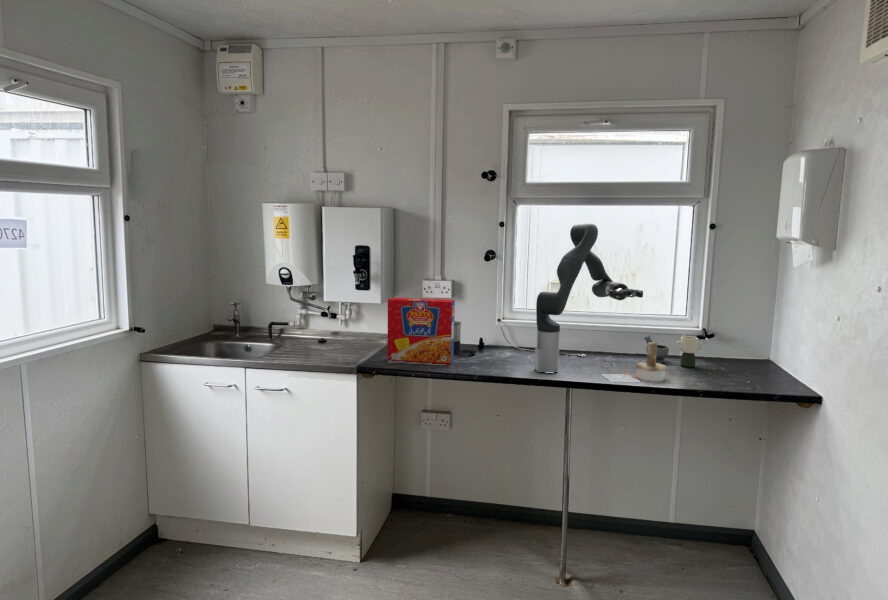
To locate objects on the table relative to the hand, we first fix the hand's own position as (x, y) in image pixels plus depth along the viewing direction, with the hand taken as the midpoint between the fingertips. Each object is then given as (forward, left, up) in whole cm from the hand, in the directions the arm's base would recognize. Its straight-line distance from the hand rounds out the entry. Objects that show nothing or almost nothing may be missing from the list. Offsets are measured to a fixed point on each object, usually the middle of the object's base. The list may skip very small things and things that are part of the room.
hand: (631, 295), depth 237 cm
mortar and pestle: (+19, +14, -32) cm, 40 cm away
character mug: (+29, +4, -32) cm, 44 cm away
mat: (-10, -15, -32) cm, 36 cm away
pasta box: (-88, +15, -32) cm, 95 cm away
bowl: (+3, -15, -32) cm, 36 cm away
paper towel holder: (+3, -15, -28) cm, 31 cm away
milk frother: (-69, +32, -32) cm, 83 cm away
